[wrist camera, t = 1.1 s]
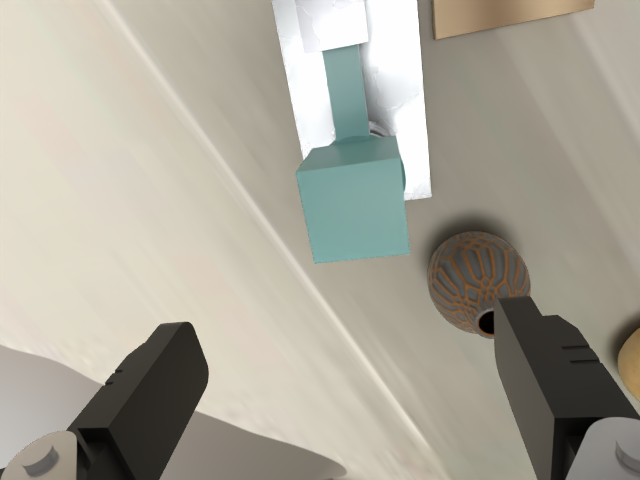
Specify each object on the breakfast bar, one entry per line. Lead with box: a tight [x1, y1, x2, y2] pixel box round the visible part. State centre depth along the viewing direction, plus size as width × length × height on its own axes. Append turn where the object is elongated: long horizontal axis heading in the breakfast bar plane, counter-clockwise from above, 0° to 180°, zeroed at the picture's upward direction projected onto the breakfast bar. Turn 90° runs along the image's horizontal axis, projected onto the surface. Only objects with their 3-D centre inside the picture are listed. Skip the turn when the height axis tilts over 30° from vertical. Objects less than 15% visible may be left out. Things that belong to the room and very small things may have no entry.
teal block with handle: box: [296, 44, 410, 263], centre depth 20 cm, size 5×12×6 cm, turn 11°
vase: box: [427, 231, 531, 339], centre depth 29 cm, size 7×7×9 cm
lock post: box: [271, 0, 431, 200], centre depth 24 cm, size 9×20×10 cm, turn 11°
